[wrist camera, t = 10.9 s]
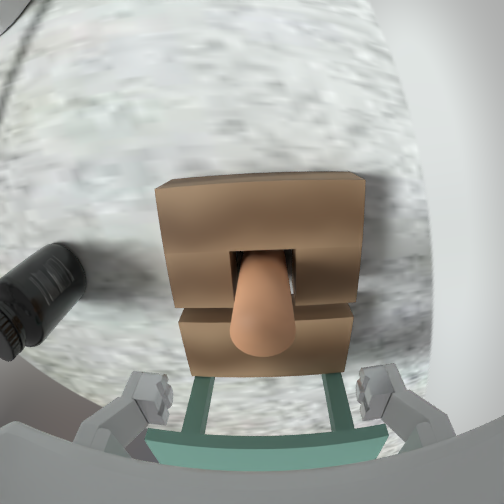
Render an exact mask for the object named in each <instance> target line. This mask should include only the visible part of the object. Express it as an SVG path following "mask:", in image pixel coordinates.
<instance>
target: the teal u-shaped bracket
mask: <svg viewBox="0 0 504 504" xmlns="http://www.w3.org/2000/svg"><path fill="white" fill-rule="evenodd" d="M322 379H323V385H324V390H325V396H326V401H327V407H328V412H329V418H330V424H331V430H332V432H325V433H315V434H302V435H284V436H225V435H207V434H205V429H206V423H207V418H208V412H209V407H210V402H211V396H212V391H213V385H214V380H215V377H203V376H195V379H194V383H193V387H192V391H191V395H190V399H189V403H188V407H187V411H186V415H185V419H184V423H183V427H182V431H181V432H174V431H166V430H159V429H152V428H148V431H147V433H146V437H145V441H146V443H147V445H148V446H149V448H150V449H151V451H152V452H153V454H154V455H155V457H156V458H157V460H158V461H159V463H160V464H165V465H172V466H179V467H187V468H197V469H208V470H223V471H287V470H302V469H314V468H323V467H332V466H339V465H346V464H352V463H358V462H363V461H369V460H374V459H376V458H377V456H378V454H379V453H380V451H381V449H382V447H383V446H384V444H385V442H386V440H387V438H388V436H389V434H388V431H387V428H386V424H380V425H375V426H369V427H363V428H357V429H354V424H353V420H352V416H351V411H350V407H349V403H348V399H347V395H346V391H345V387H344V383H343V379H342V375H341V372H339V373H328V374H322Z"/></svg>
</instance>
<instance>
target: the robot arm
mask: <svg viewBox="0 0 504 504" xmlns="http://www.w3.org/2000/svg"><path fill="white" fill-rule="evenodd" d="M29 2H30V0H0V35H1V34H2V33H3V32H4V31H5V30H6V29H7V28H8V27H9V26H10V25H11V24H12V23H13V22H14V21H15V20H16V18H17V17H18V16H19V15H20V14H21V12H22V11H23V10H24V9H25V7H26V6H27V4H28V3H29ZM359 376H360V379H359V380H357V383H356V397H357V401H358V402H359V403H361V406H360V413H361V417H362V420H363V421H367V420H373V419H380V418H381V420H382V421H383V422H384V423H386V424H387V425H388V426H389V427H390V428H391V429H392V430H393V431H394V432H395V433H396V434H397V435H398V436H399V437H400V438H401V439H402V440H403V441H404V442H406V443H405V444H404V446H403V447H402V449H401V450H400V452H399V453H398V454H396V455H392V456H388V457H383V458H379V459H374V460H369V461H363V462H358V463H352V464H346V465H339V466H332V467H323V468H314V469H302V470H287V471H223V470H208V469H197V468H187V467H179V466H172V465H165V464H158V463H153V462H147V461H141V460H137V459H132V458H131V457H130V455H129V454H128V453H127V452H126V450H125V449H124V448H125V447H126V446H127V445H128V444H129V443H130V442H131V441H132V440H133V439H134V438H135V437H136V436H137V435H138V434H139V433H140V432H142V430H143V429H145V428H146V427H147V426H148V424H157V425H166V424H167V421H168V417H169V412H168V410H167V409H168V408H170V407H171V406H172V402H173V390H172V387H171V386H170V385H169V384H168V377H167V375H166V374H159V373H149V372H140V371H133V372H132V373H131V375H130V377H129V380H128V382H127V384H126V386H125V389H124V391H123V393H122V396H121V397H117V398H116V399H115V400H113V401H112V402H110V403H109V404H107V405H106V406H105V407H103V408H102V409H100V410H99V411H97V412H96V413H95V414H93V415H92V416H90V417H89V418H88V419H86V420H85V421H83V422H82V423H81V426H80V428H79V430H78V432H77V434H76V436H75V438H74V441H73V443H72V442H69V441H67V440H64V439H61V438H58V437H55V436H53V435H50V434H47V433H45V432H42V431H40V430H37V429H35V428H33V427H30V426H28V425H26V424H23V423H21V422H18V421H14V422H11V423H9V424H7V425H5V426H3V427H1V428H0V504H504V415H503V416H501V417H499V418H497V419H495V420H493V421H491V422H489V423H486V424H484V425H482V426H480V427H477V428H475V429H473V430H470V431H468V432H465V433H463V434H460V435H457V436H456V434H455V432H454V430H453V427H452V425H451V423H450V420H449V418H448V416H447V414H445V413H444V412H442V411H441V410H439V409H437V408H436V407H435V406H433V405H432V404H430V403H429V402H427V401H426V400H424V399H423V398H421V397H420V396H418V395H417V394H415V393H414V392H413V391H411V390H406V387H405V385H404V382H403V380H402V378H401V375H400V373H399V371H398V369H397V366H396V364H394V363H391V364H385V365H378V366H371V367H365V368H361V369H360V371H359Z"/></svg>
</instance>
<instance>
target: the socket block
mask: <svg viewBox="0 0 504 504" xmlns="http://www.w3.org/2000/svg"><path fill="white" fill-rule="evenodd" d="M155 196H156V203H157V210H158V217H159V223H160V230H161V236H162V242H163V248H164V254H165V259H166V265H167V270H168V275H169V281H170V286H171V291H172V295H173V300H174V305H175V308H184V310H183V312H182V315H181V317H180V320H179V322H178V323H179V327H180V331H181V336H182V340H183V344H184V348H185V352H186V356H187V360H188V364H189V367H190V371H191V375H192V376H203V377H281V376H301V375H316V374H328V373H339V372H344V370H345V365H346V360H347V354H348V349H349V343H350V337H351V331H352V325H353V318H354V316H353V314H352V312H351V309H350V307H349V305H348V303H350V302H356V297H357V289H358V280H359V271H360V261H361V251H362V239H363V224H364V207H365V179H363V178H361V177H359V176H357V175H355V174H353V173H351V172H274V173H251V174H233V175H218V176H205V177H193V178H182V179H172V180H170V181H168V182H167V183H165V184H163V185H161V186H159V187H158V188H156V189H155ZM277 249H292V285H293V292H294V294H291V298H292V305H293V312H294V319H295V327H296V335H295V339H294V341H293V343H292V344H291V345H290V346H289V347H288V348H287V349H286V350H285V351H283V352H281V353H280V354H277V355H274V356H269V357H256V356H252V355H249V354H246V353H244V352H243V351H241V350H240V349H238V348H237V347H236V346H235V344H234V343H233V341H232V339H231V337H230V325H231V319H232V313H233V307H234V301H235V295H236V290H237V284H238V269H237V257H236V251H250V250H277Z"/></svg>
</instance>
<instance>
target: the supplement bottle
mask: <svg viewBox="0 0 504 504" xmlns="http://www.w3.org/2000/svg"><path fill="white" fill-rule="evenodd" d="M85 287H86V279H85V274H84V270H83V268H82V266H81V264H80V262H79V260H78V259H77V258H76V256H75V255H74V254H73V253H72V252H71V251H70V250H68V249H67V248H65V247H64V246H61V245H58V244H49V245H46V246H44V247H42V248H41V249H40V250H38V251H37V252H35V253H34V254H32V255H31V256H30V257H28V258H27V259H25V260H24V261H23V262H21V263H20V264H19V265H17V266H16V267H15V268H13V269H12V270H11V271H9V272H8V273H7V274H6V275H4V276H3V277H2V278H1V279H0V358H1V359H3V360H5V361H8V362H9V361H12V360H13V359H14V358H15V357H16V356H17V355H18V354H19V353H20V352H21V351H22V350H23V349H24V347H25V346H26V347H35V346H38V345H40V344H41V343H42V342H43V341H44V340H45V339H46V338H47V336H48V335H49V334H50V333H51V332H52V331H53V329H54V328H55V327H56V326H57V325H58V323H59V322H60V321H61V320H62V319H63V318H64V316H65V315H66V314H67V313H68V312H69V311H70V310H71V309H72V307H73V306H74V305H75V304H76V303H77V302H78V300H79V299H80V298H81V297H82V295H83V294H84V291H85Z"/></svg>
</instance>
